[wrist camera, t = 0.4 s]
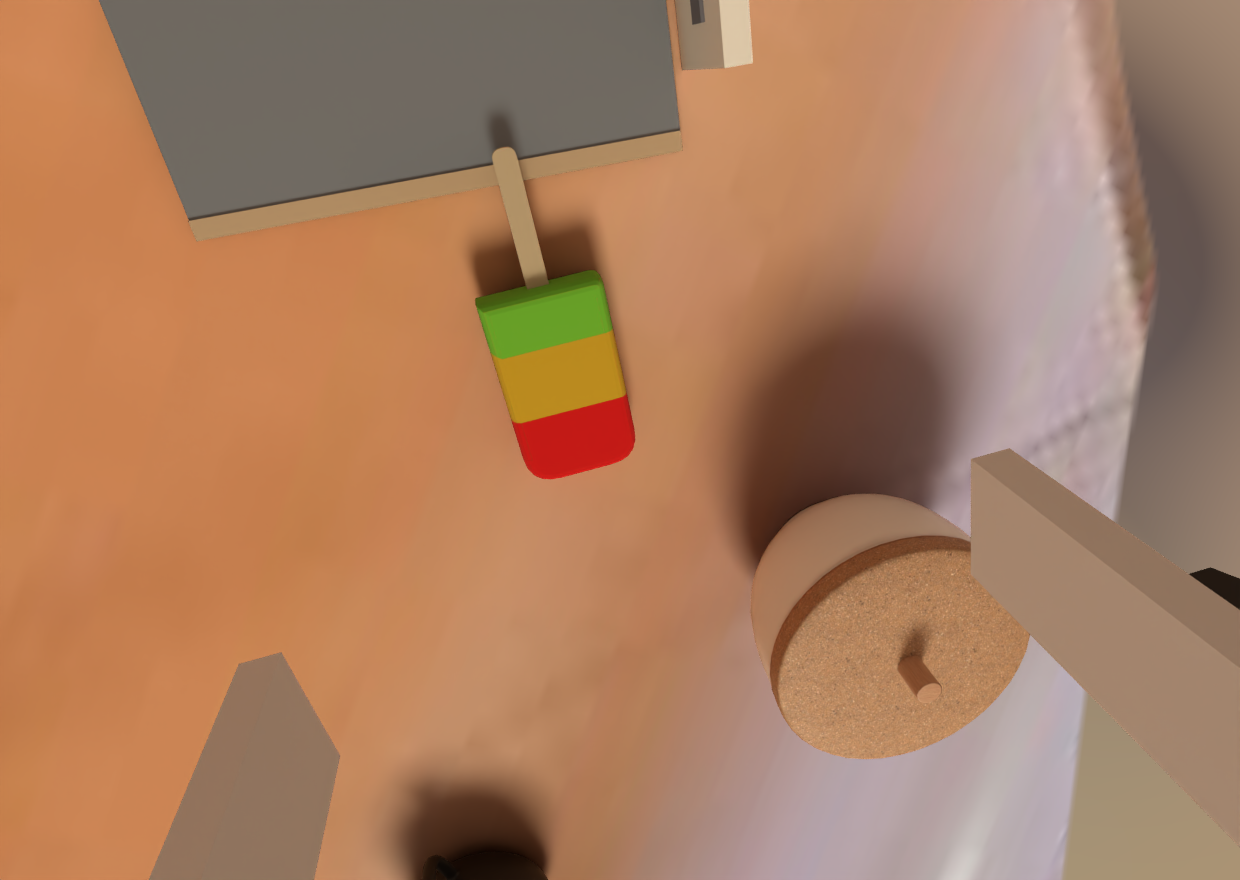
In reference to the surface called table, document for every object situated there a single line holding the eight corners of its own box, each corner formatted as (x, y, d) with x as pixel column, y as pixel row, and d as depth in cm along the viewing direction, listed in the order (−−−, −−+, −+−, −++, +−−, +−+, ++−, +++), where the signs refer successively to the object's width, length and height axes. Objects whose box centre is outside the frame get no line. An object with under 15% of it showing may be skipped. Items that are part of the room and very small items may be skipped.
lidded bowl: (906, 631, 47) (1020, 778, 37) (711, 648, 45) (776, 809, 35) (951, 449, 41) (1099, 565, 31) (732, 460, 39) (816, 587, 29)
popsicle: (528, 469, 37) (531, 489, 36) (433, 160, 30) (431, 167, 28) (634, 441, 38) (642, 460, 36) (567, 128, 30) (573, 133, 29)
